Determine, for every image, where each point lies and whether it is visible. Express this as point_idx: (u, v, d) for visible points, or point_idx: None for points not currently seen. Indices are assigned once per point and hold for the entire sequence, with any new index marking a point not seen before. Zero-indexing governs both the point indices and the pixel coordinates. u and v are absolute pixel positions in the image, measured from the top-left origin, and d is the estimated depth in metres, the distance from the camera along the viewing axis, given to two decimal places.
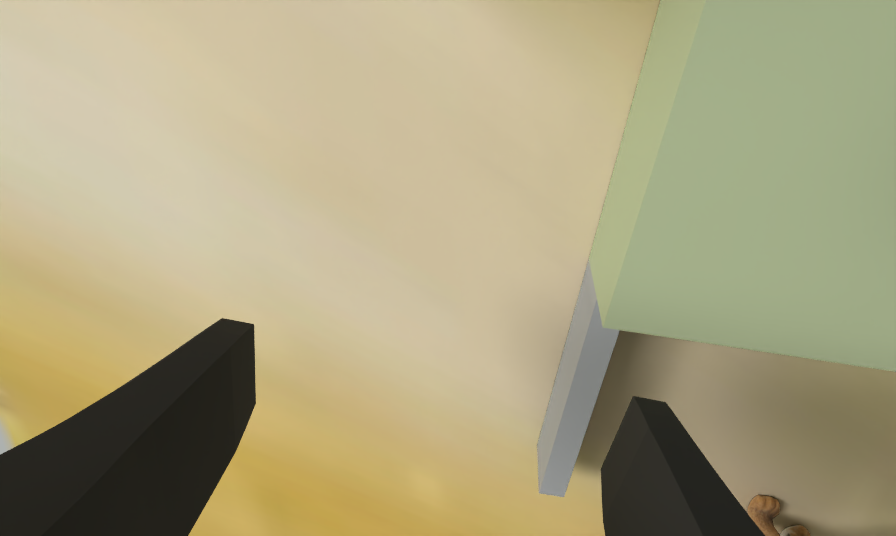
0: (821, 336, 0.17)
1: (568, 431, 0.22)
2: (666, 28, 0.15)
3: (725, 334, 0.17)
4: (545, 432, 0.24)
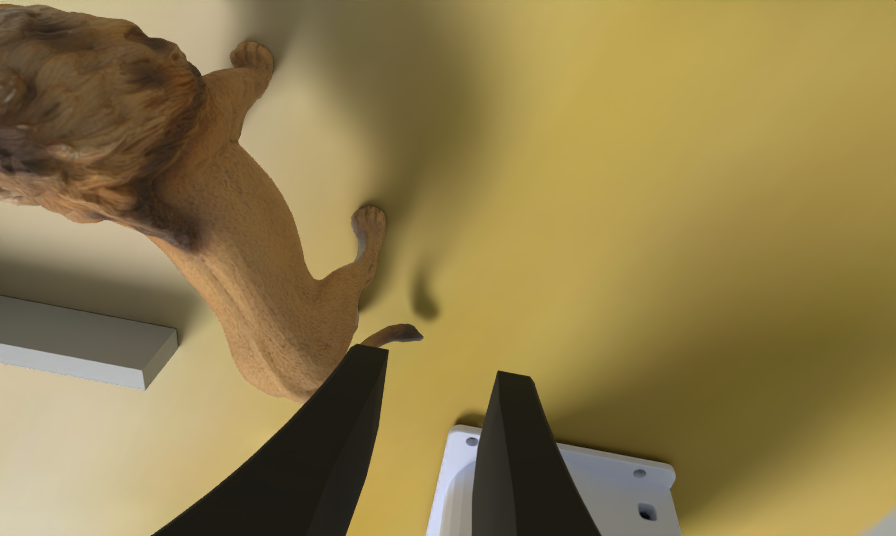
0: None
1: (47, 364, 0.22)
2: None
3: None
4: None
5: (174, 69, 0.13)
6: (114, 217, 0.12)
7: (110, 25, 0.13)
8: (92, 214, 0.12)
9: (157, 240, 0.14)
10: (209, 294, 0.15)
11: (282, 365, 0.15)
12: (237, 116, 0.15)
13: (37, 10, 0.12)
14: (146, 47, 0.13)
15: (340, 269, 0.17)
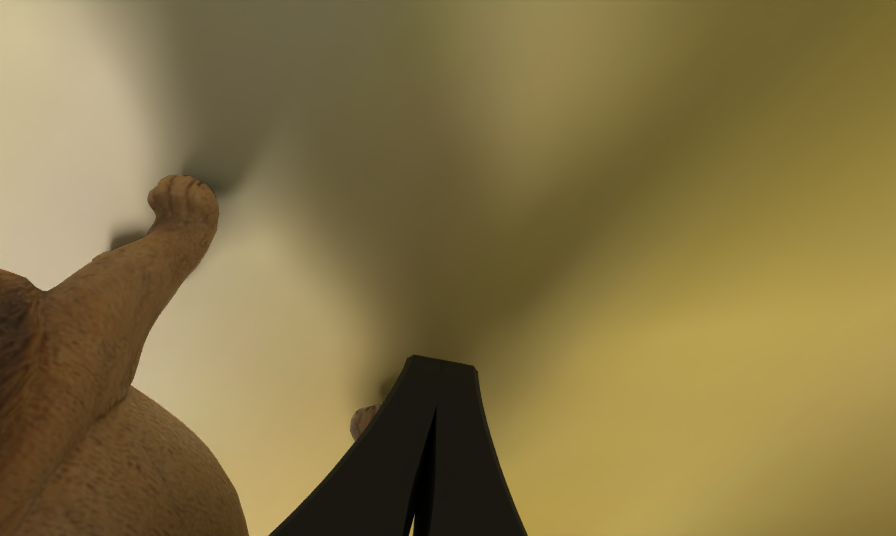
0: None
1: None
2: None
3: None
4: None
5: None
6: None
7: None
8: None
9: None
10: None
11: None
12: (117, 362, 0.08)
13: None
14: None
15: None
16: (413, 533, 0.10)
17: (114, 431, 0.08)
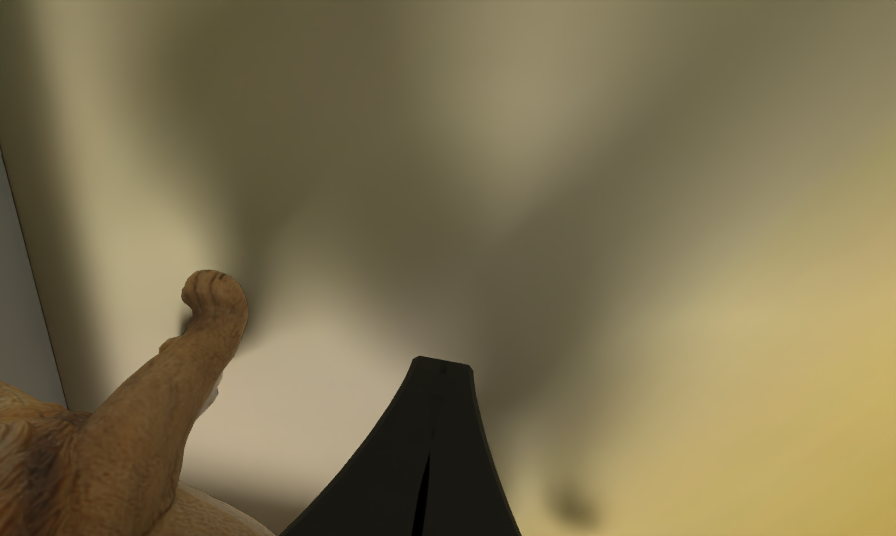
0: None
1: None
2: None
3: None
4: None
5: None
6: None
7: None
8: None
9: None
10: None
11: None
12: (152, 481, 0.09)
13: None
14: None
15: None
16: None
17: None
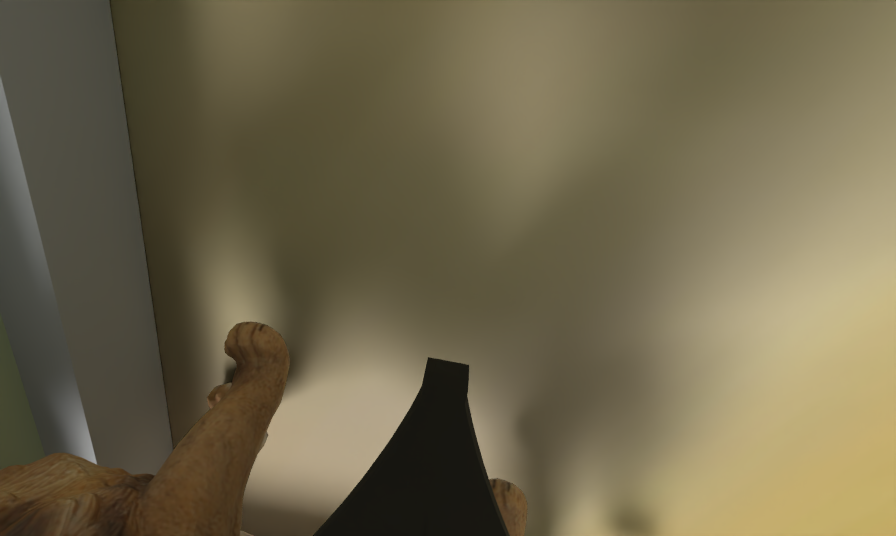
0: None
1: None
2: None
3: None
4: None
5: None
6: None
7: None
8: None
9: None
10: None
11: None
12: None
13: None
14: None
15: None
16: None
17: None
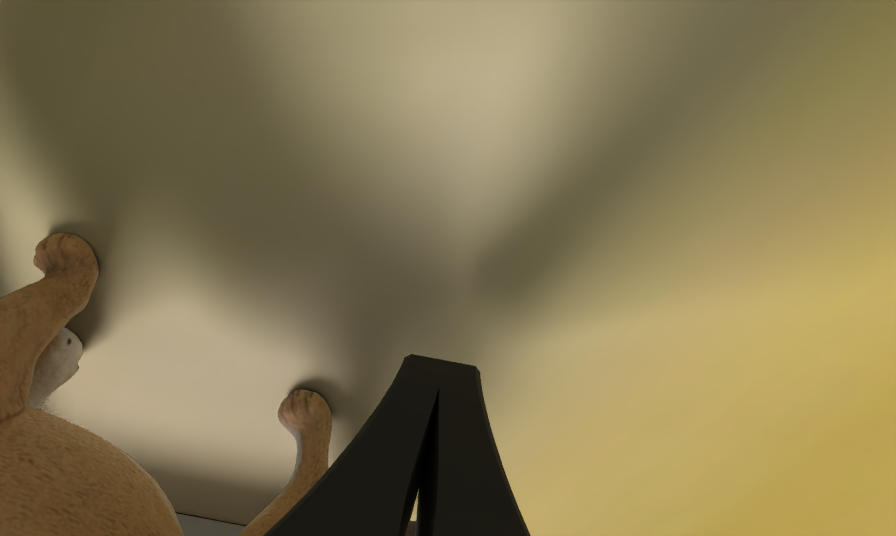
0: None
1: None
2: None
3: None
4: None
5: None
6: None
7: None
8: None
9: None
10: None
11: None
12: None
13: None
14: None
15: (248, 528, 0.11)
16: (415, 533, 0.10)
17: (5, 437, 0.09)
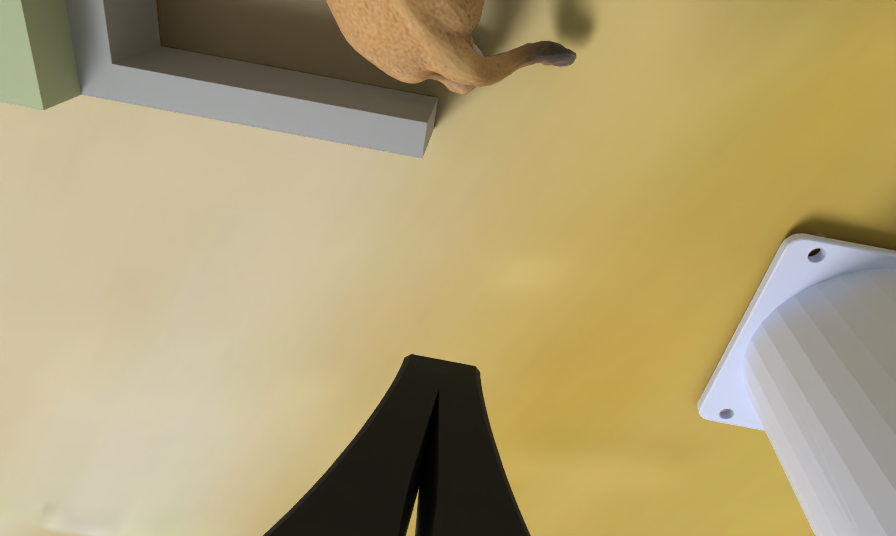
0: None
1: (292, 120, 0.16)
2: None
3: None
4: None
5: None
6: None
7: None
8: None
9: None
10: None
11: None
12: None
13: None
14: None
15: None
16: (415, 533, 0.10)
17: None
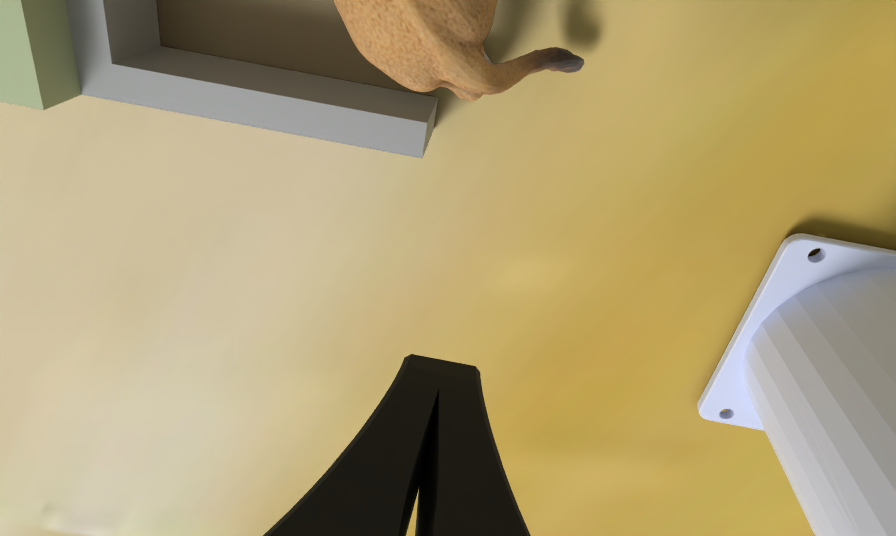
0: None
1: (292, 120, 0.16)
2: None
3: None
4: None
5: None
6: None
7: None
8: None
9: None
10: None
11: None
12: None
13: None
14: None
15: None
16: (415, 533, 0.10)
17: None
